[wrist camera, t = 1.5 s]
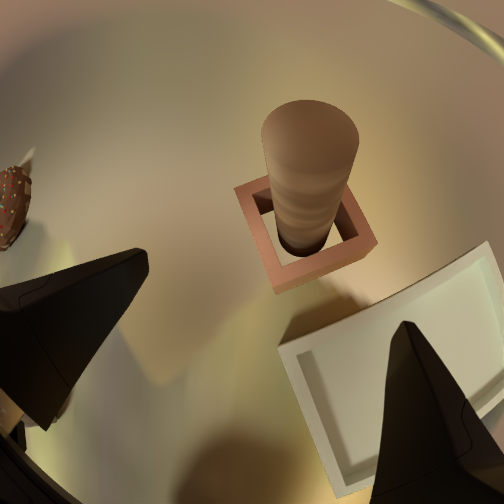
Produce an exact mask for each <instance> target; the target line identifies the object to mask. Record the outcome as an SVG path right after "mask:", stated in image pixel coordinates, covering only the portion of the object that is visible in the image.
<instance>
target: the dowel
mask: <svg viewBox="0 0 504 504" xmlns="http://www.w3.org/2000/svg"><path fill="white" fill-rule="evenodd" d="M262 142H263V147H264V153H265V159H266V165H267V170H268V176H269V182H270V188H271V194H272V200H273V206H274V212H275V219H276V225H277V232H278V238H279V241H280V244H281V245H282V247H283V248H284V249H285V250H286V251H287V252H288V253H290V254H292V255H294V256H297V257H308V256H310V255H313V254H315V253H318V252H319V251H320V250H321V249H322V248H323V246H324V244H325V243H326V240H327V237H328V235H329V232H330V229H331V227H332V224H333V221H334V218H335V216H336V213H337V210H338V207H339V204H340V201H341V199H342V196H343V193H344V190H345V187H346V184H347V181H348V178H349V175H350V172H351V168H352V166H353V162H354V159H355V156H356V153H357V149H358V146H359V134H358V131H357V128H356V127H355V124H354V123H353V121H352V120H351V119H350V118H349V117H348V116H347V115H346V114H345V113H344V112H343V111H341V110H340V109H338V108H337V107H335V106H332V105H330V104H327V103H324V102H320V101H315V100H298V101H293V102H289V103H286V104H284V105H282V106H280V107H278V108H276V109H275V110H274V111H272V112H271V113H270V114H269V115H268V117H267V118H266V120H265V122H264V124H263V127H262Z"/></svg>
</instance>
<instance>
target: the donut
mask: <svg viewBox="0 0 504 504" xmlns="http://www.w3.org/2000/svg"><path fill="white" fill-rule="evenodd" d="M31 184H32V182H31V179H30V178H29V177H28V175H27V173H26V171H25V170H24V169H23V168H21V167H17V166H12V167H10V168H8V169H7V168H6V170H4V171H2V172H0V252H2V251H6V250H7V248H8V246H9V245H10V244H11V243H12V242H13V241H14V239H15V238H16V236H17V235H18V233H19V231H20V229H21V227H22V225H23V223H24V221H25V218H26V215H27V212H28V208H29V204H30V199H31Z"/></svg>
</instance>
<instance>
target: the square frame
mask: <svg viewBox="0 0 504 504" xmlns="http://www.w3.org/2000/svg"><path fill="white" fill-rule="evenodd" d="M234 190H235V192H236V195H237V198H238V200H239V203H240V205H241V208H242V210H243V213H244V215H245V217H246V220H247V223H248V225H249V228H250V230H251V233H252V235H253V238H254V241H255V243H256V246H257V248H258V251H259V253H260V256H261V258H262V261H263V263H264V266H265V269H266V271H267V274H268V276H269V279H270V282H271V284H272V287H273V289H274V291H275V293H276V295H277V294H279V293H282V292H284V291H287V290H289V289H292V288H294V287H297V286H299V285H301V284H304V283H306V282H309V281H311V280H314V279H316V278H318V277H321V276H323V275H326V274H328V273H330V272H333V271H335V270H337V269H340V268H342V267H344V266H346V265H349V264H351V263H353V262H356V261H358V260H360V259H362V258H364V257H365V256H366V255H367V254H368V253H369V252H370V251H371V250H372V249H373V248H374V247H375V246H376V245H377V244H378V243H377V240H376V238H375V236H374V234H373V232H372V230H371V228H370V226H369V224H368V222H367V220H366V218H365V216H364V215H363V213H362V211H361V209H360V207H359V205H358V203H357V201H356V200H355V198H354V196H353V194H352V192H351V190H350V189H349V187H348V185H347V184H346V187H345V190H344V193H343V196H342V199H341V201H340V204H339V207H338V210H337V213H336V216H335V218H334V223H335V225H336V227H337V229H338V231H339V233H340V235H341V237H342V240H343V242H342V243H340V244H337V245H335V246H332V247H330V248H327V249H325V250H323V251H320V252H318V253H315V254H313V255H310V256H308V257H305V258H303V259H301V260H298V261H296V262H293V263H291V264H288V265H286V266H283V267H282V266H281V264H280V262H279V259H278V257H277V254H276V252H275V250H274V247H273V245H272V242H271V240H270V237H269V235H268V232H267V230H266V227H265V225H264V223H263V221H262V218H261V216H260V215H262V214H265V213H267V212H270V211H273V210H274V206H273V200H272V194H271V188H270V182H269V176H268V175H267V176H264V177H262V178H259V179H256V180H254V181H251V182H249V183H246V184H244V185H241V186H239V187H236V188H234Z"/></svg>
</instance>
